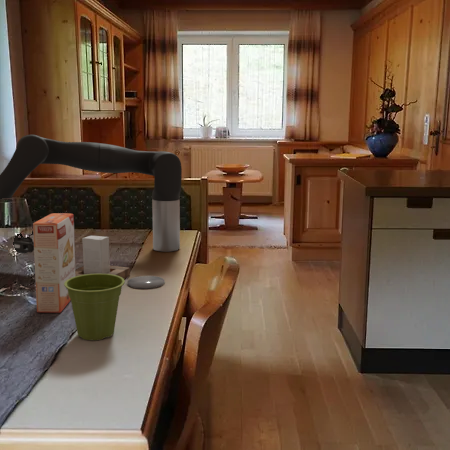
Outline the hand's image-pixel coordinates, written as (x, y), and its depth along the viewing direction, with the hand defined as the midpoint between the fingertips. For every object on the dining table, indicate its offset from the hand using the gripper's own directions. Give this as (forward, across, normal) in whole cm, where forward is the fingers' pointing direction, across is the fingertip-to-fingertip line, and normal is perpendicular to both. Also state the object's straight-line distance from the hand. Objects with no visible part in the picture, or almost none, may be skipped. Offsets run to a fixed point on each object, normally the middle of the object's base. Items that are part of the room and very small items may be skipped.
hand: (60, 244), depth 147 cm
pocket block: (+11, 0, +9) cm, 14 cm away
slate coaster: (+25, +2, +9) cm, 27 cm away
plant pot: (+32, -33, +9) cm, 47 cm away
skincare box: (+11, 0, +9) cm, 15 cm away
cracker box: (+13, -20, +9) cm, 26 cm away
